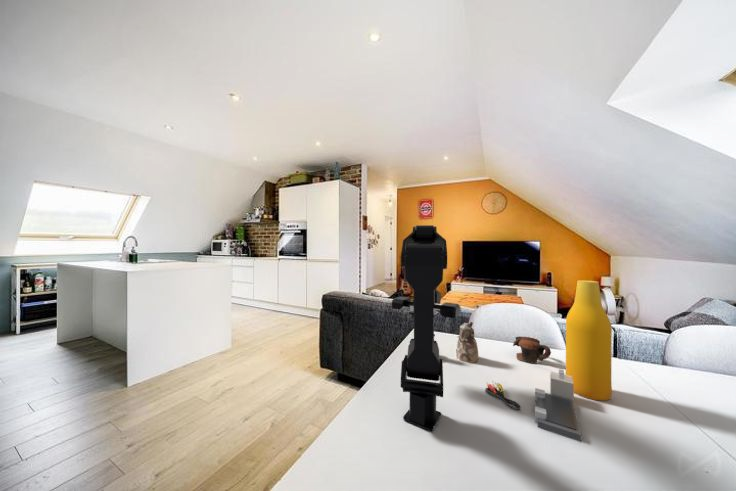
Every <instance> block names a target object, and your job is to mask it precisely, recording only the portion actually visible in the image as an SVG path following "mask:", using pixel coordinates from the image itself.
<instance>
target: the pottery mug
mask: <svg viewBox="0 0 736 491" xmlns="http://www.w3.org/2000/svg"><path fill="white" fill-rule="evenodd" d="M512 346H513V347H515V346H516V347H519V348H520V350H521V352H517V353H516V359H517V361H525V362H527V363H531V364H535V365H537V364H538V361H539V362H542V361H544V360H546V359H548V358H549V357H550V356H551V354H552V351H551V349H550V347H549V346H547V345H545V344H541V341H540V340H539V339H537V338H535V337H530V336H516V337H515V340H514V341H513V344H512Z"/></svg>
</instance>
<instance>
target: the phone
mask: <svg viewBox="0 0 736 491" xmlns="http://www.w3.org/2000/svg"><path fill="white" fill-rule="evenodd" d="M534 391H535V392H534V402H536V403H537V406H536V405H535V406H534V422H535V423H536V424H537V428H540V429H543V430H545V431H548V432H551V433H554V434H557V435H561V436H564V437H567V438H569V439H572V440H574V441H575V440H576V441H579V442H582V433H581V429H580V426H579V424H580V423H579V421H578V417H577V413H576V409H575V404H573V400H571V399H567V398H563V397H559V396H556V395H552V394H550V393H547V392H546V390H545V389H541V388H538V387H535V388H534Z"/></svg>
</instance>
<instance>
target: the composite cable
mask: <svg viewBox="0 0 736 491" xmlns="http://www.w3.org/2000/svg"><path fill="white" fill-rule="evenodd" d="M485 384H486V385H487V387H485V390H484V392H485V393H486V394H487V395H489V396H491V397H495V398H496V399H498V400H500V401H502V403H503V404H505V405H506V406H507V407H508V408H510V409H511V410H514V411H517V412H518V411H521V409H522V408H521V405H520V404H519V403H518V402H517V401H515V400H513V399H512V400H511V399H510V398H507V397H505V392H504V388H503V386H502V384H501V383H500V382H495V381H494V380H492V384H490V383H488V382H486V383H485Z"/></svg>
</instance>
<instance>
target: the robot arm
mask: <svg viewBox="0 0 736 491" xmlns="http://www.w3.org/2000/svg"><path fill="white" fill-rule="evenodd" d="M447 247H448V246H447V240H446V238H444V237H443V236H442V235H440V233H438V232H437V226H434V224H433V225H432V224H431V225H429V224H428V225H426V224H425V225H423V224H422V225H419V224H418V225H415V226H413V227H412V232H411V233H409V235H407V236H406V237H405V238H404V239H403V240H402V246H401V253H400V266H401V269H402V268H403V269H404V280H405V282H406V283H407V284H408V285H409V286H410V288H411V290H412V294H413V295H412V296H413V300H412V299H411V297H410V296H409V297H407V296H401V295H400V296H397V297H394V298H393V299H392V300H391V303H390V304H391V305H390V306H391V307H390V308H391V309H393V310H402V309H403V308H404V307H406V308H409V311H408V314H409V315H411V317H412V318H413V338H411V339H410V340H409V344H408V346H407V347H408V348H407V354H405V355H404V358H403V360H401V369H400V388H401V389H402V392H403V393H409V406H408V407H409V409H408V410H407V411H406V412H405V414H404V415H403V418H402V419H403V421H405V422H408V423H410V424H413V425H416V426H417V427H420V428H421V429H424V430H427V431H430V432H433V431H434V429H435V427H436V425H437V423H438V422H439V421H440V419H441V417H442V412H441V411H438V410H437V397H440V398H444V370H443V369H444V366H443V365H444V364H443V359H442V358H440V348H439V344H438V342H437V340H434V341H433V326H434V318H436V317H437V316H439V315H441V316H442V317H444V318H450V319H456V318H458V317H459V316H460V315H461V313H462V312H461V311H462V310H461V309H462V308H461V305H460V304H459V303H453V302H444V303H442V304H441V299H442V293H441V292H440V291H439V290H437V289H438V288H439V286H440V285H441V284H442V282H443V281H444V270H447V269H448V248H447ZM409 378H410V379H409ZM418 379H419V380H418ZM433 381H435V382H433Z"/></svg>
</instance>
